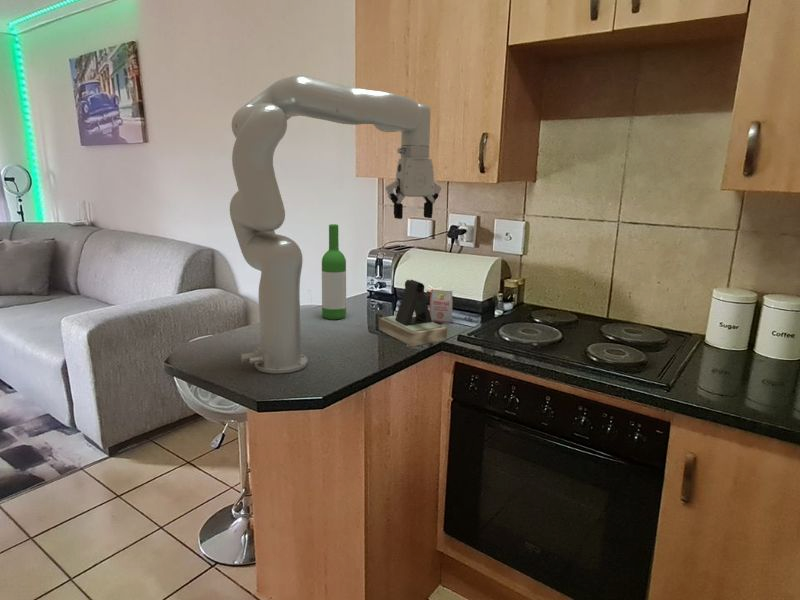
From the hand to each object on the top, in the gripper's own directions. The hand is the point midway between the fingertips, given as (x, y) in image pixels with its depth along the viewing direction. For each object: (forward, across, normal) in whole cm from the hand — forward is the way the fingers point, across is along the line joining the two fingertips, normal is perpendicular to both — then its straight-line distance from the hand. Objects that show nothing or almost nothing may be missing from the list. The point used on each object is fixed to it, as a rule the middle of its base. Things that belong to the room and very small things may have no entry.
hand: (413, 218), depth 146 cm
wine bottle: (+34, -10, +30) cm, 47 cm away
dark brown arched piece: (+31, +2, +2) cm, 31 cm away
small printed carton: (+35, +19, +11) cm, 41 cm away
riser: (+34, +2, +2) cm, 34 cm away
